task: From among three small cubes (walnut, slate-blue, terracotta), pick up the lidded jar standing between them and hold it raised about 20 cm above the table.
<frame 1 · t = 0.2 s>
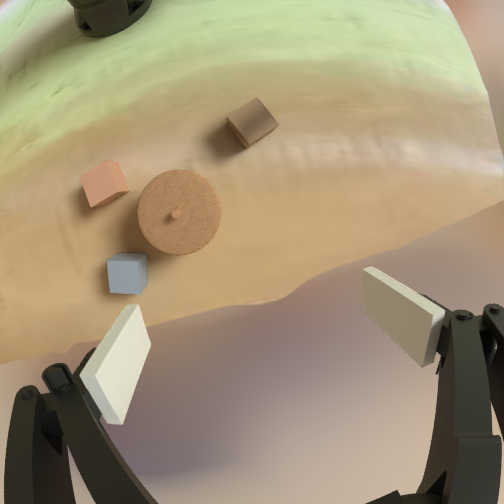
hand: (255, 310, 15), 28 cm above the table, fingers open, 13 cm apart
lidded jar: (185, 208, 40), on the table
cube terracotta: (111, 184, 38), on the table
cube slate: (133, 268, 41), on the table
cube walnut: (249, 127, 38), on the table
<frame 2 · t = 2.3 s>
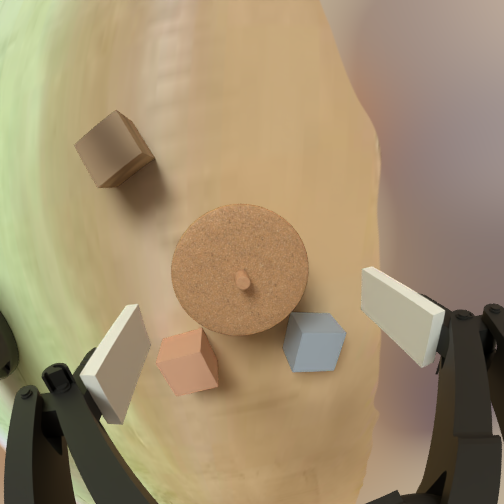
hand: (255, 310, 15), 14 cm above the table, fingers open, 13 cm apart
lidded jar: (234, 251, 28), on the table
cube terracotta: (190, 349, 30), on the table
cube slate: (306, 330, 32), on the table
cube walnut: (124, 153, 24), on the table
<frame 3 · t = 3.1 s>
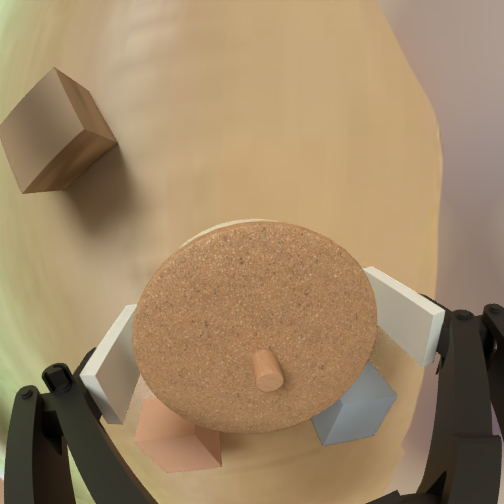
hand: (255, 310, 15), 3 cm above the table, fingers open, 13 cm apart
lidded jar: (243, 288, 18), on the table
cube terracotta: (182, 413, 20), on the table
cube slate: (338, 385, 21), on the table
cube walnut: (74, 139, 14), on the table
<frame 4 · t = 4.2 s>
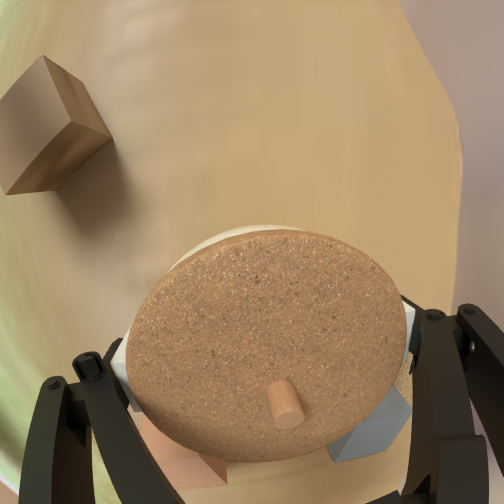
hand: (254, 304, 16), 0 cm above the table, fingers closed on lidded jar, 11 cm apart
lidded jar: (252, 299, 16), on the table, touching gripper
cube terracotta: (185, 428, 18), on the table
cube slate: (350, 398, 19), on the table
cube walnut: (66, 134, 12), on the table
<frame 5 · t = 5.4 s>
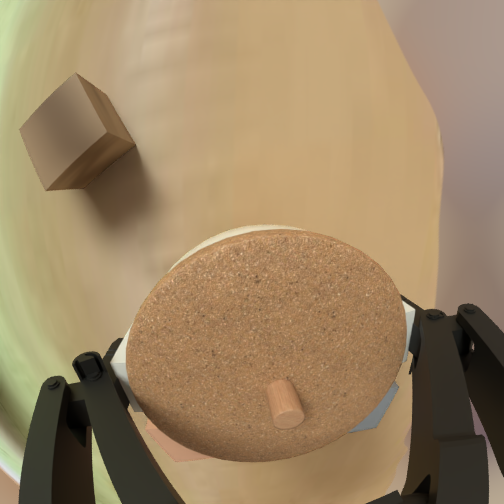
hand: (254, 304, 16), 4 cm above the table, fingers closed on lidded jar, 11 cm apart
lidded jar: (252, 299, 16), point 3 cm above the table, touching gripper
cube terracotta: (192, 403, 21), on the table
cube slate: (342, 378, 22), on the table
cube walnut: (93, 140, 16), on the table
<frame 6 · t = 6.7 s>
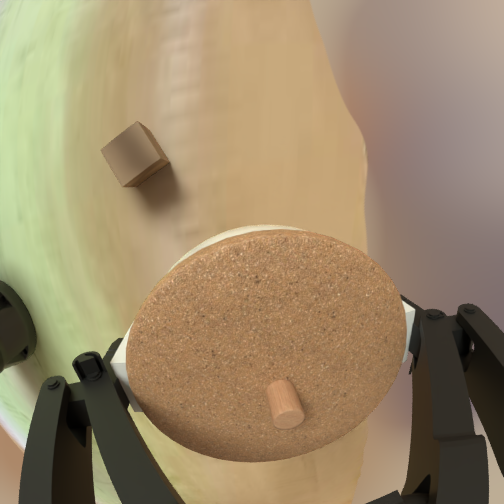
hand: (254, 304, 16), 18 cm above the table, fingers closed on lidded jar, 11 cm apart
lidded jar: (252, 299, 16), point 17 cm above the table, touching gripper
cube walnut: (142, 158, 29), on the table
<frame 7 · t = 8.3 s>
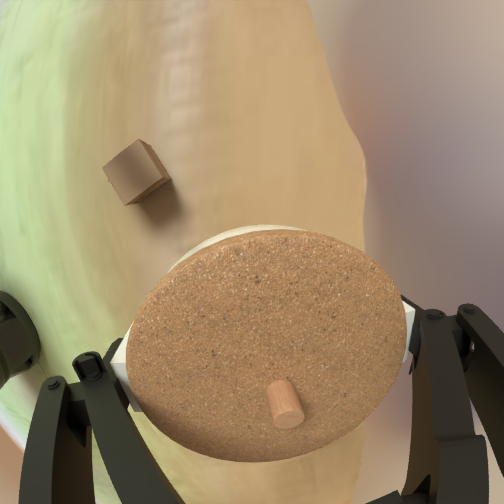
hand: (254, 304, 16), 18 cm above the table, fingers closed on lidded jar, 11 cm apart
lidded jar: (252, 299, 16), point 17 cm above the table, touching gripper
cube walnut: (144, 174, 30), on the table
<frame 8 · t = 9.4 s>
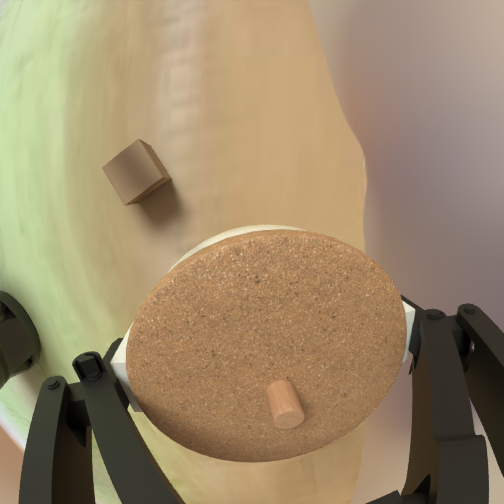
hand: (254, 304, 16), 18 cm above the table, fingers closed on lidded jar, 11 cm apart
lidded jar: (252, 299, 16), point 17 cm above the table, touching gripper
cube walnut: (144, 174, 30), on the table
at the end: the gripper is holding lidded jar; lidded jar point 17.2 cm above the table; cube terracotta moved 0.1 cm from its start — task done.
